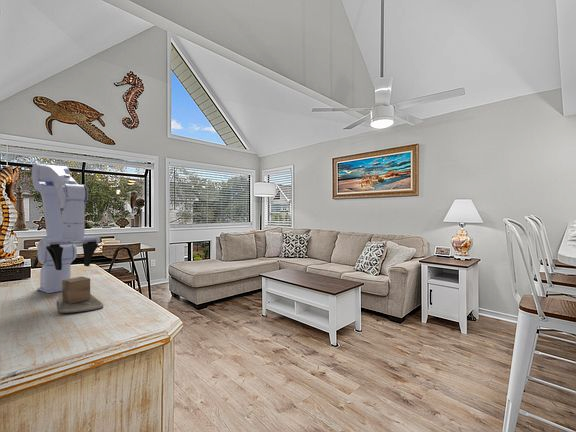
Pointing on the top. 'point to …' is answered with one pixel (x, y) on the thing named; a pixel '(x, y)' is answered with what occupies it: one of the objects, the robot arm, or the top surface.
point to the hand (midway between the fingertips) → (73, 267)
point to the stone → (79, 305)
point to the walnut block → (75, 289)
